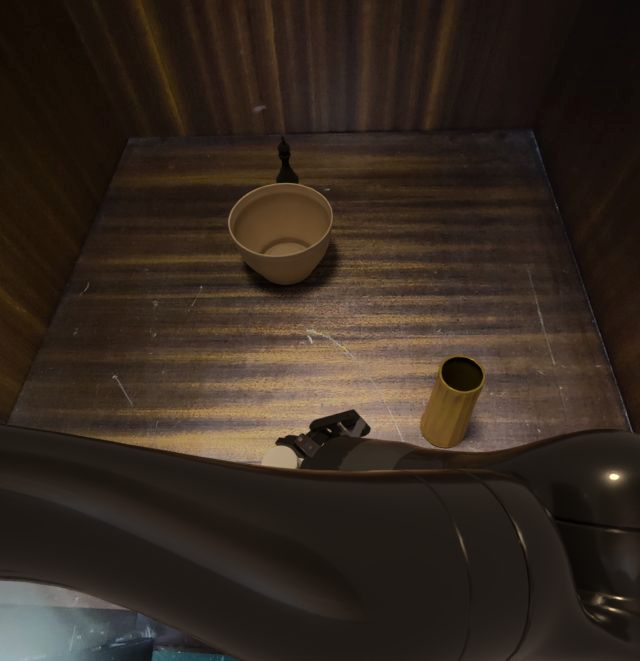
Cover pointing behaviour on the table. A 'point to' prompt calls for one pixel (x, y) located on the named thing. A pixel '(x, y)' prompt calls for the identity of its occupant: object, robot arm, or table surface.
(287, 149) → the chess piece
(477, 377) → the vase
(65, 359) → the table surface
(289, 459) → the pill bottle
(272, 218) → the planter bowl
